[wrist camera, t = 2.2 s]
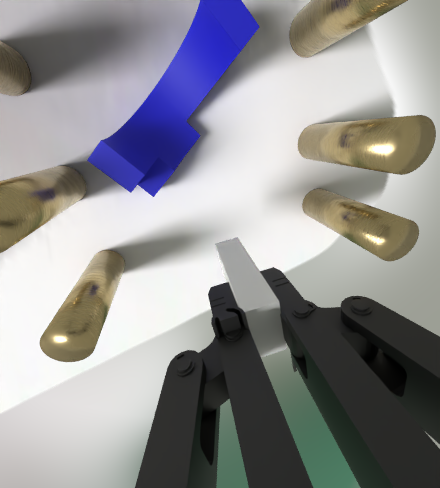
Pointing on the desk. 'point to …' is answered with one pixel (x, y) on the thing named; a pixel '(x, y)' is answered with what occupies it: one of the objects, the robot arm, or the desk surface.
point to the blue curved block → (176, 100)
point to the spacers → (310, 147)
